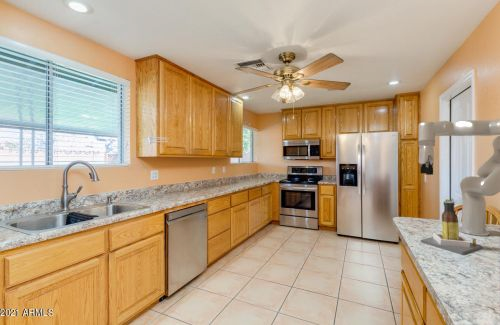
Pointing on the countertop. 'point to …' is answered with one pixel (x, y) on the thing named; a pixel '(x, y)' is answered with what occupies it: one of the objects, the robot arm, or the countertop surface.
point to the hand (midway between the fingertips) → (426, 174)
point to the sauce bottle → (449, 222)
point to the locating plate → (451, 248)
